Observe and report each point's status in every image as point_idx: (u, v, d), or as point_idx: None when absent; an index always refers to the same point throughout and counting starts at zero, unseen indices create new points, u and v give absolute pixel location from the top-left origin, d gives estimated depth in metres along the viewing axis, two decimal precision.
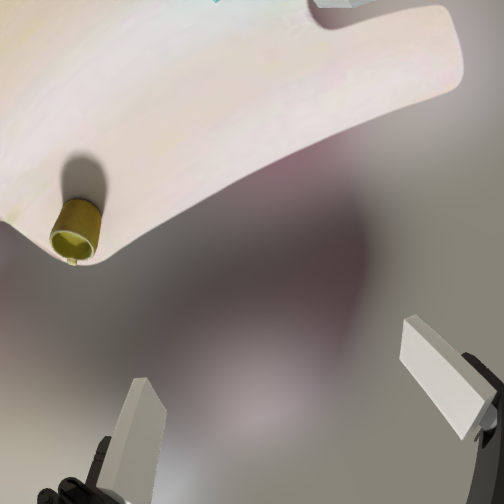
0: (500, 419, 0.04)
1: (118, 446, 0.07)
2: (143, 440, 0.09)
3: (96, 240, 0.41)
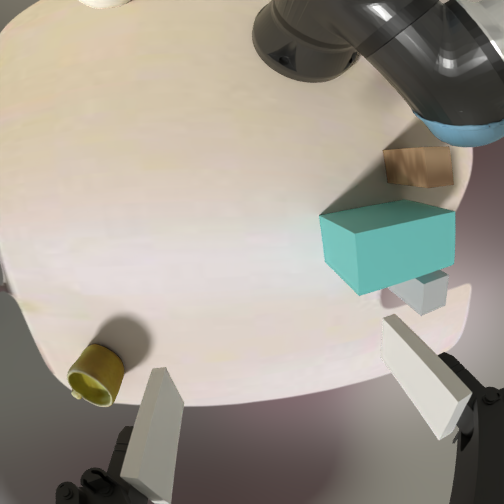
0: (477, 422, 0.05)
1: (141, 434, 0.08)
2: (164, 429, 0.09)
3: (115, 397, 0.37)
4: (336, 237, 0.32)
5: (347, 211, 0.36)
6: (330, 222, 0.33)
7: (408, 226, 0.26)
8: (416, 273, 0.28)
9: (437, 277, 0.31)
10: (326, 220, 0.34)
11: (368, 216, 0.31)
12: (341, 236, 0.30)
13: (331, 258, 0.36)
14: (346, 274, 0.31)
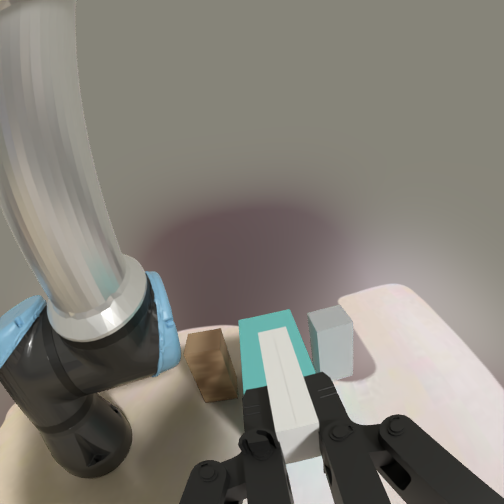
0: (330, 463, 0.06)
1: (279, 388, 0.10)
2: None
3: None
4: None
5: None
6: None
7: (245, 356, 0.28)
8: (296, 338, 0.29)
9: (311, 323, 0.36)
10: None
11: None
12: None
13: None
14: None
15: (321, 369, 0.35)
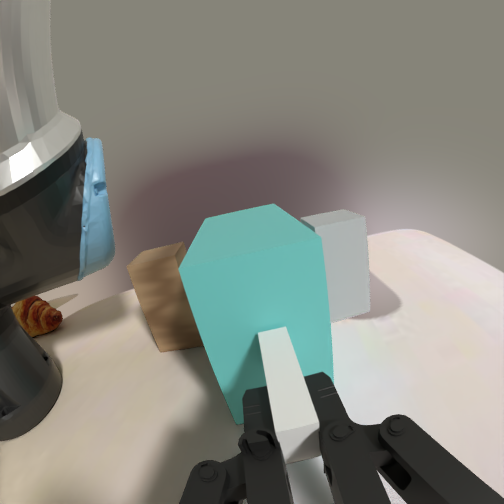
0: (330, 463, 0.06)
1: (279, 388, 0.10)
2: None
3: None
4: (241, 357, 0.14)
5: None
6: (220, 380, 0.15)
7: (202, 234, 0.19)
8: (280, 214, 0.21)
9: (306, 226, 0.26)
10: (226, 396, 0.15)
11: None
12: (222, 332, 0.14)
13: None
14: (306, 303, 0.14)
15: None
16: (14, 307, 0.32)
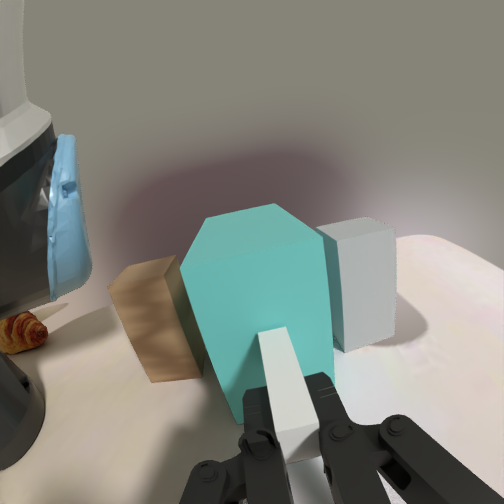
0: (330, 463, 0.06)
1: (279, 388, 0.10)
2: None
3: None
4: (242, 356, 0.14)
5: None
6: (221, 379, 0.15)
7: (203, 234, 0.19)
8: (281, 214, 0.21)
9: (324, 237, 0.21)
10: (227, 395, 0.15)
11: None
12: (223, 332, 0.14)
13: None
14: (307, 303, 0.14)
15: (345, 322, 0.20)
16: None
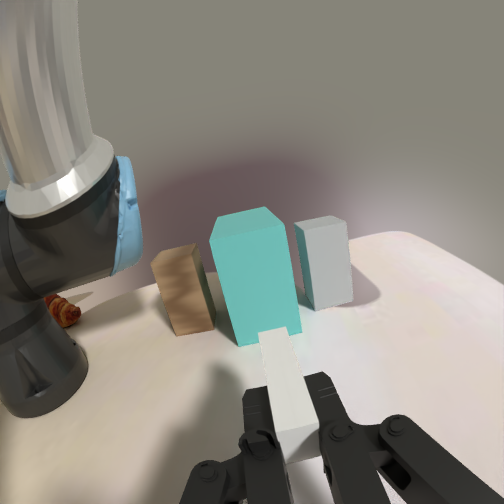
0: (330, 463, 0.06)
1: (279, 388, 0.10)
2: None
3: None
4: (242, 293, 0.26)
5: None
6: (229, 310, 0.27)
7: (218, 226, 0.31)
8: (267, 213, 0.33)
9: (298, 229, 0.32)
10: (233, 322, 0.27)
11: None
12: (231, 277, 0.26)
13: (283, 310, 0.27)
14: (277, 260, 0.26)
15: (314, 287, 0.31)
16: None
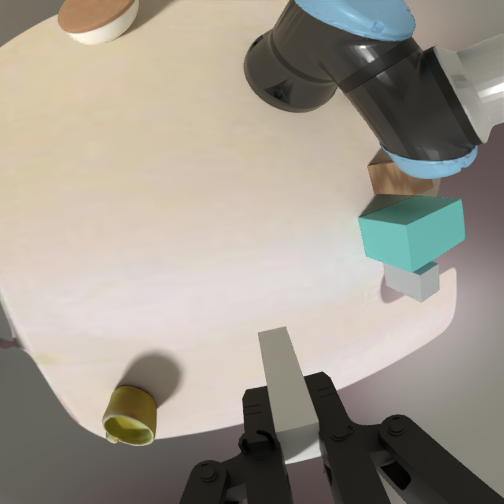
0: (330, 463, 0.06)
1: (279, 388, 0.10)
2: None
3: None
4: (382, 232, 0.38)
5: (379, 211, 0.43)
6: (374, 221, 0.39)
7: (435, 214, 0.33)
8: (443, 249, 0.34)
9: (429, 267, 0.37)
10: (369, 220, 0.40)
11: (401, 212, 0.38)
12: (389, 230, 0.36)
13: (375, 251, 0.41)
14: (396, 259, 0.36)
15: (393, 266, 0.43)
16: None
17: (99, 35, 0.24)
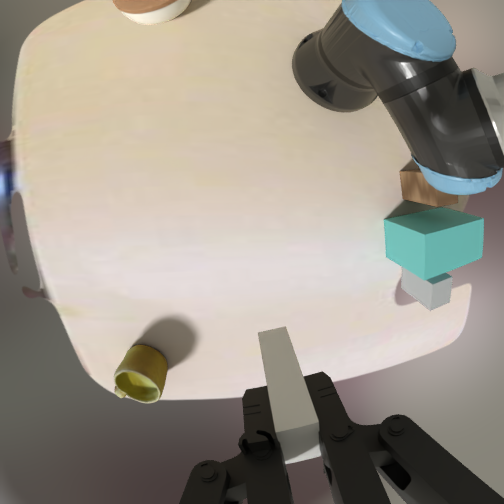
0: (330, 463, 0.06)
1: (279, 388, 0.10)
2: None
3: None
4: (403, 237, 0.38)
5: (404, 216, 0.42)
6: (398, 225, 0.39)
7: (455, 229, 0.32)
8: (458, 264, 0.34)
9: (443, 278, 0.37)
10: (393, 223, 0.40)
11: (424, 221, 0.38)
12: (409, 236, 0.36)
13: (394, 254, 0.42)
14: (412, 265, 0.37)
15: None
16: None
17: (154, 17, 0.26)
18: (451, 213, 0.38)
